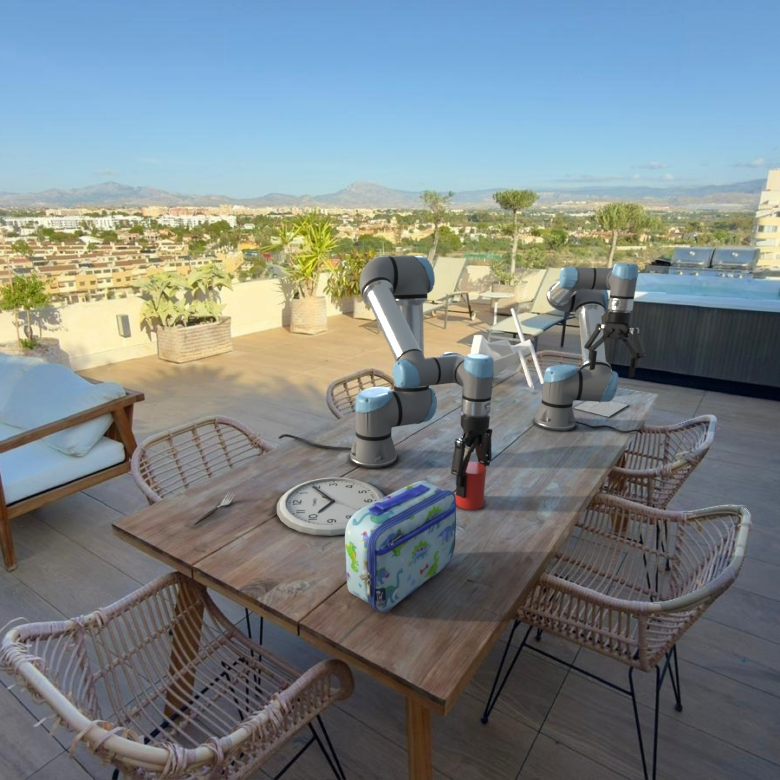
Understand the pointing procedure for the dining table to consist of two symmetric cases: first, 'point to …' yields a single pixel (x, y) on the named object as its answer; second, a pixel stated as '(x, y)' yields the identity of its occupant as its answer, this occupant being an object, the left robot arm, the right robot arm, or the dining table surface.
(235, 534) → the dining table surface
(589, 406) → the invitation card
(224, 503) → the fork
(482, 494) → the canister
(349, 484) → the wall clock
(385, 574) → the lunch box
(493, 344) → the white plastic object
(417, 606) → the dining table surface
